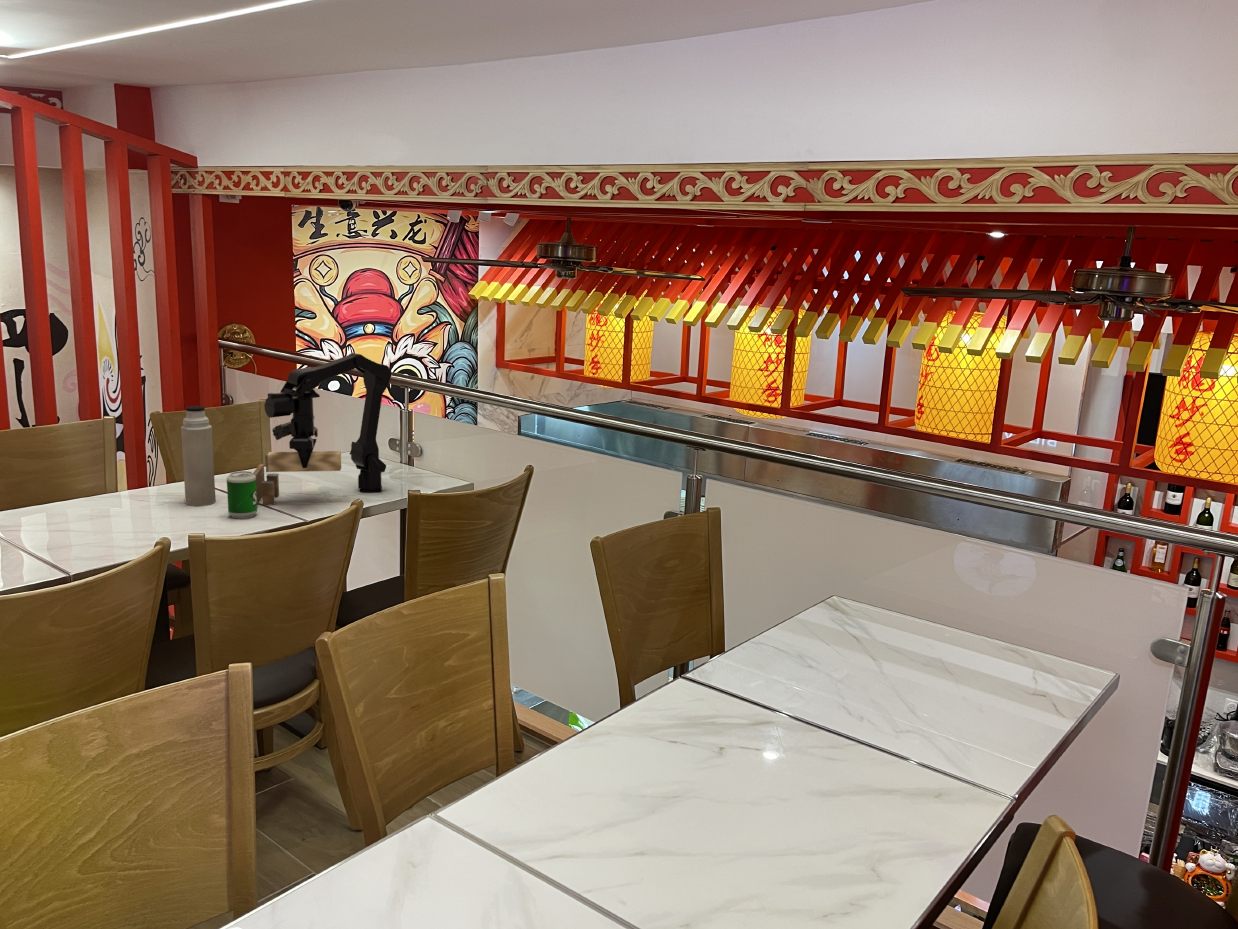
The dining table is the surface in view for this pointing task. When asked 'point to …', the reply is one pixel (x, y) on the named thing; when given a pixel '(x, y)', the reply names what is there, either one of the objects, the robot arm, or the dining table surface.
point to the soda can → (242, 494)
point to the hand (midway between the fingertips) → (305, 466)
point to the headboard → (266, 486)
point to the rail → (293, 463)
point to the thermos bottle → (198, 458)
